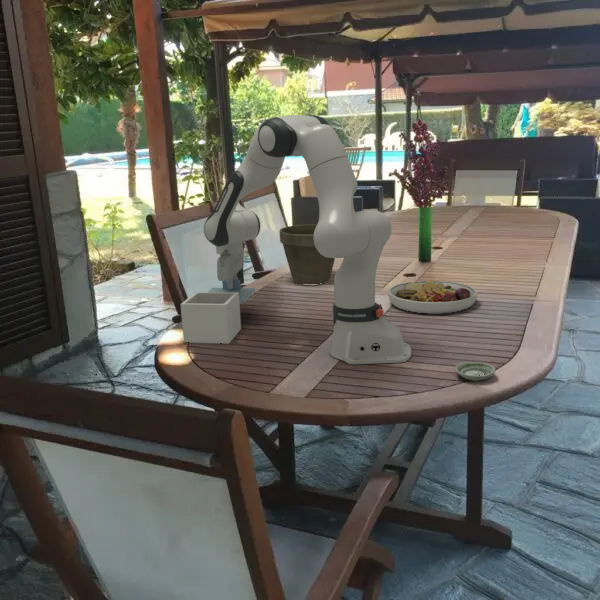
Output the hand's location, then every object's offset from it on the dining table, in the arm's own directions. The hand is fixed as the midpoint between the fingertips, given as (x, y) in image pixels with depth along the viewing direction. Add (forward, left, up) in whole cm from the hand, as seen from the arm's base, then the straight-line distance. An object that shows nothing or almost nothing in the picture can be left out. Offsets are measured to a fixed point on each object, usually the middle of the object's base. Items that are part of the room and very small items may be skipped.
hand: (232, 287), depth 218 cm
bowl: (-67, -15, -10) cm, 69 cm away
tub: (0, +24, -9) cm, 25 cm away
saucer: (-76, +51, -10) cm, 92 cm away
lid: (0, +6, -2) cm, 6 cm away
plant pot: (-20, -46, -10) cm, 52 cm away
